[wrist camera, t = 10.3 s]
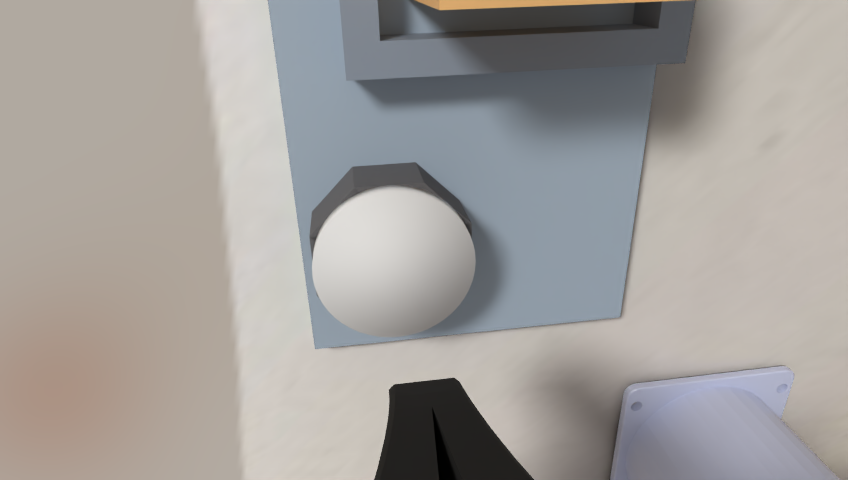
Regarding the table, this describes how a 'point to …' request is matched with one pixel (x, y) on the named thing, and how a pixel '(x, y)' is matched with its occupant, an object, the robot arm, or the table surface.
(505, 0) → the tan oblong block
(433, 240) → the wheel
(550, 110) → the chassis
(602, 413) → the table surface
